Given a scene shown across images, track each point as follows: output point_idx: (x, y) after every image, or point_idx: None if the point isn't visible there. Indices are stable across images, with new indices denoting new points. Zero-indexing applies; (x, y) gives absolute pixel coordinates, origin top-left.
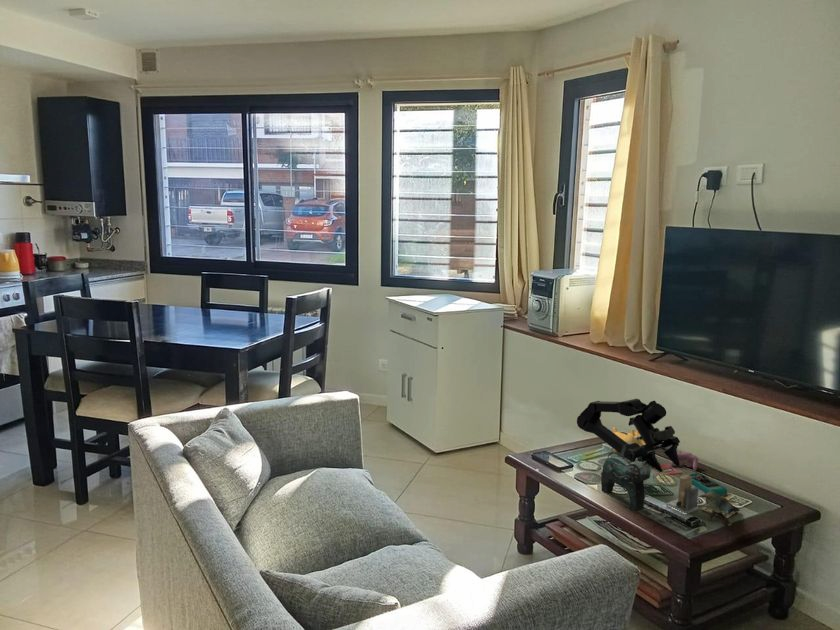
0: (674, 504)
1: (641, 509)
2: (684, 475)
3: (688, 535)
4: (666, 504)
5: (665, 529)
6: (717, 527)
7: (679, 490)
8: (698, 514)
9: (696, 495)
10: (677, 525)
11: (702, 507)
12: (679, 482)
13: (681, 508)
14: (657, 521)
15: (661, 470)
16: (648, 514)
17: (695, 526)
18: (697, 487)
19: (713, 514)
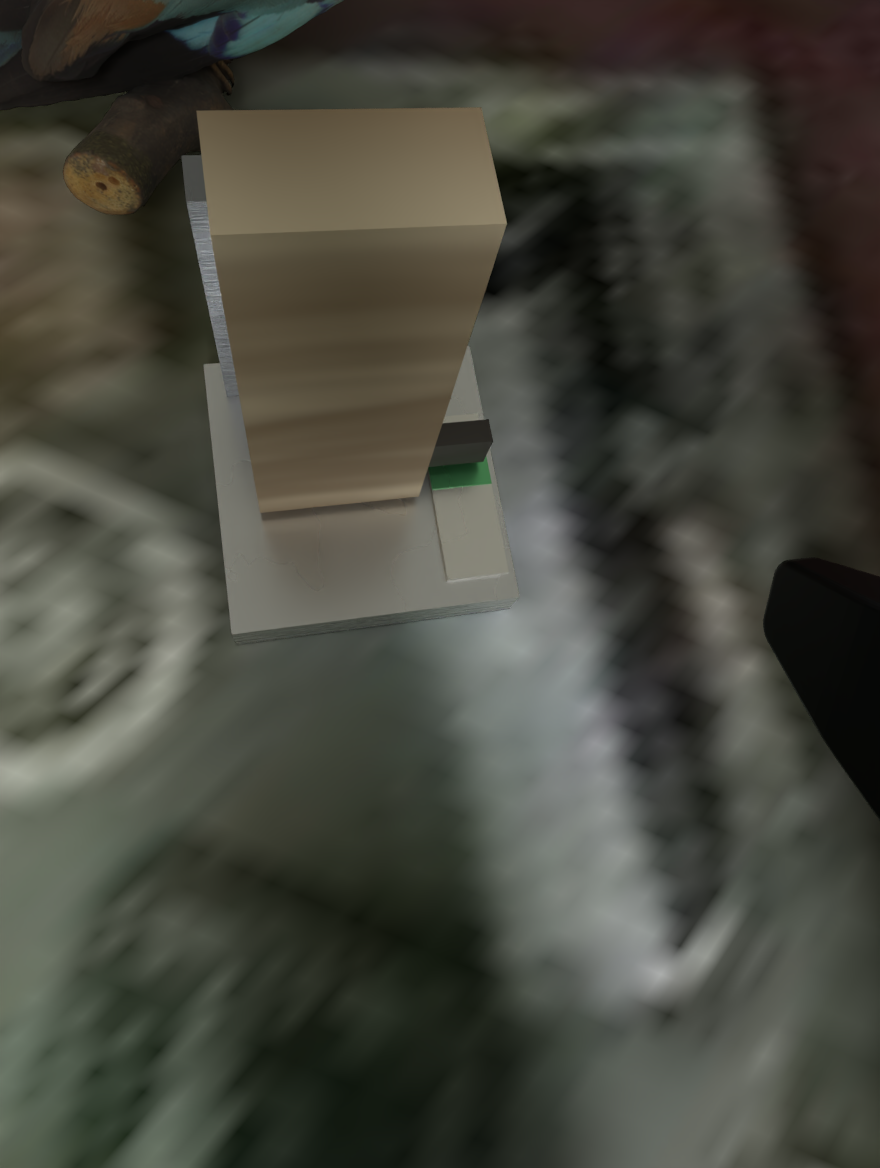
0: (459, 515)
1: None
2: (324, 230)
3: (714, 111)
4: (515, 601)
5: (845, 264)
6: (347, 69)
7: (446, 386)
8: None
9: None
10: (689, 261)
11: (101, 399)
12: (480, 305)
13: (447, 413)
14: (829, 399)
15: (826, 566)
16: (833, 548)
17: (536, 173)
18: (187, 172)
19: None
